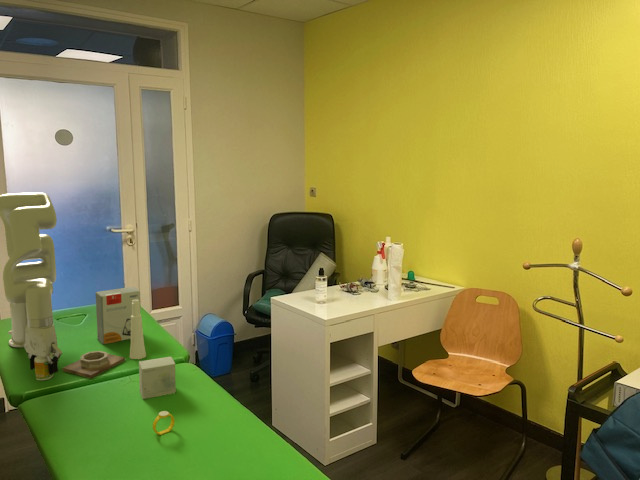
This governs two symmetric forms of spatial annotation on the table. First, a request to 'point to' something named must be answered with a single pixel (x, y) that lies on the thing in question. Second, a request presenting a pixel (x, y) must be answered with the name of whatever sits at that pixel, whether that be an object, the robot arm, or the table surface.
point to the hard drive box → (115, 314)
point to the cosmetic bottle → (136, 333)
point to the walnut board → (93, 370)
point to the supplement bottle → (42, 368)
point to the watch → (163, 415)
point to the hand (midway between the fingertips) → (44, 370)
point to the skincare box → (157, 377)
